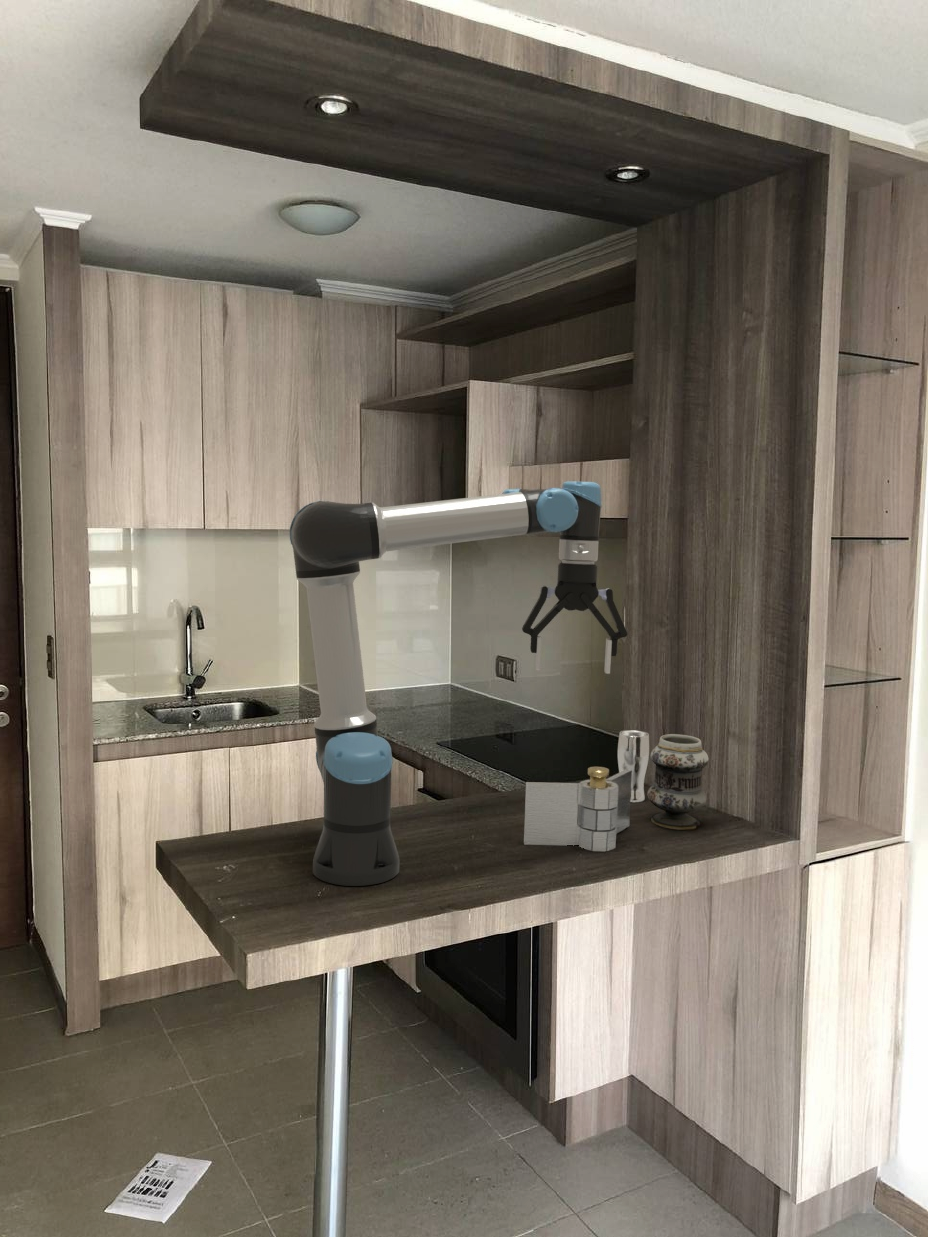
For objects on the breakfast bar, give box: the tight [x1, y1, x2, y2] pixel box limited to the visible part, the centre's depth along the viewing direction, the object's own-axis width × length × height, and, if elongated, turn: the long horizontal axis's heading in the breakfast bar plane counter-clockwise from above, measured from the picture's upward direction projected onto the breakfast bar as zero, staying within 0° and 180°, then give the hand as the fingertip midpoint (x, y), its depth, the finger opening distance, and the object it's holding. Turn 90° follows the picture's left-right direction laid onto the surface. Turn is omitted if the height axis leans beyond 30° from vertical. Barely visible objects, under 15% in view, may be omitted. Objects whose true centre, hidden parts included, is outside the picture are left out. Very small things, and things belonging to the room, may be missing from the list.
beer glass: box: [617, 729, 650, 803], centre depth 221 cm, size 7×7×15 cm
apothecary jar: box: [646, 733, 709, 831], centre depth 204 cm, size 12×12×18 cm
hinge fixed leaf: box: [523, 779, 618, 852], centre depth 189 cm, size 18×7×12 cm, turn 91°
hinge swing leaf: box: [577, 769, 632, 835], centre depth 193 cm, size 18×7×12 cm, turn 146°
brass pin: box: [587, 766, 610, 788], centre depth 189 cm, size 4×4×15 cm
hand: (572, 671), depth 191 cm, fingers open, 13 cm apart
